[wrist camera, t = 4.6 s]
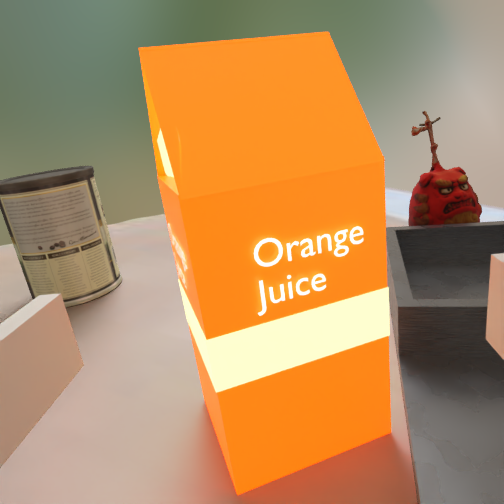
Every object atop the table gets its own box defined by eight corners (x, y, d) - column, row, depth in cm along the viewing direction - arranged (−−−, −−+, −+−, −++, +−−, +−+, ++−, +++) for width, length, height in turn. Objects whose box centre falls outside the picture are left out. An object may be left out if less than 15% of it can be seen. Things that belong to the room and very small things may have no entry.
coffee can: (17, 300, 47) (-25, 184, 43) (94, 269, 55) (65, 167, 50) (58, 317, 41) (14, 182, 36) (139, 279, 48) (110, 163, 44)
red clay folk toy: (436, 264, 41) (439, 112, 36) (394, 246, 47) (391, 115, 42) (495, 248, 42) (505, 101, 38) (446, 233, 49) (449, 106, 44)
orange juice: (202, 398, 26) (131, 64, 19) (323, 358, 28) (295, 48, 21) (237, 499, 18) (141, 21, 12) (395, 434, 21) (385, 4, 14)
